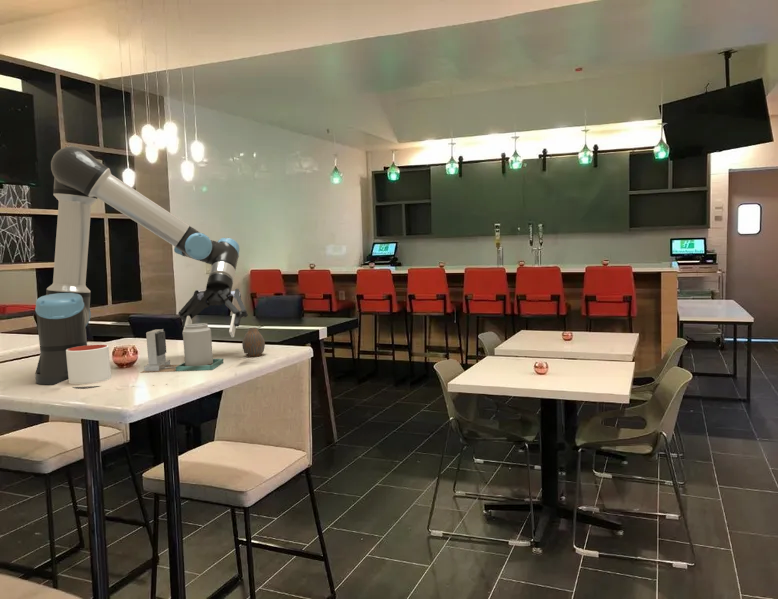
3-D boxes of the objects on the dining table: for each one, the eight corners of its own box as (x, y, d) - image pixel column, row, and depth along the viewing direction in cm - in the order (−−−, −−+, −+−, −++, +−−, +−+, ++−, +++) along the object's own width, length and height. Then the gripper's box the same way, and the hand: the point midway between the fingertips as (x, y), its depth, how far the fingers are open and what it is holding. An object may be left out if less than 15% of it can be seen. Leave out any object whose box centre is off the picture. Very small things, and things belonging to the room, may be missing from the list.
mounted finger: (144, 371, 171) (141, 333, 170) (156, 366, 179) (153, 329, 178) (159, 371, 171) (156, 332, 170) (170, 365, 179) (167, 328, 178)
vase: (258, 357, 194) (257, 329, 193) (239, 357, 196) (237, 329, 195) (269, 353, 200) (267, 326, 200) (249, 353, 202) (248, 326, 202)
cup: (81, 391, 157) (77, 352, 156) (62, 387, 163) (58, 349, 162) (119, 383, 165) (115, 345, 164) (99, 379, 171) (96, 343, 170)
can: (180, 368, 174) (176, 325, 173) (204, 363, 180) (201, 321, 179) (194, 370, 169) (191, 326, 168) (218, 365, 175) (215, 323, 174)
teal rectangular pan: (140, 378, 170) (139, 368, 170) (155, 370, 180) (154, 361, 180) (212, 375, 169) (211, 365, 169) (223, 367, 179) (223, 358, 179)
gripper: (263, 286, 197) (254, 341, 183) (185, 289, 198) (170, 344, 184) (257, 270, 191) (247, 325, 177) (177, 273, 192) (161, 329, 179)
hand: (208, 335), depth 181 cm, fingers open, 13 cm apart
